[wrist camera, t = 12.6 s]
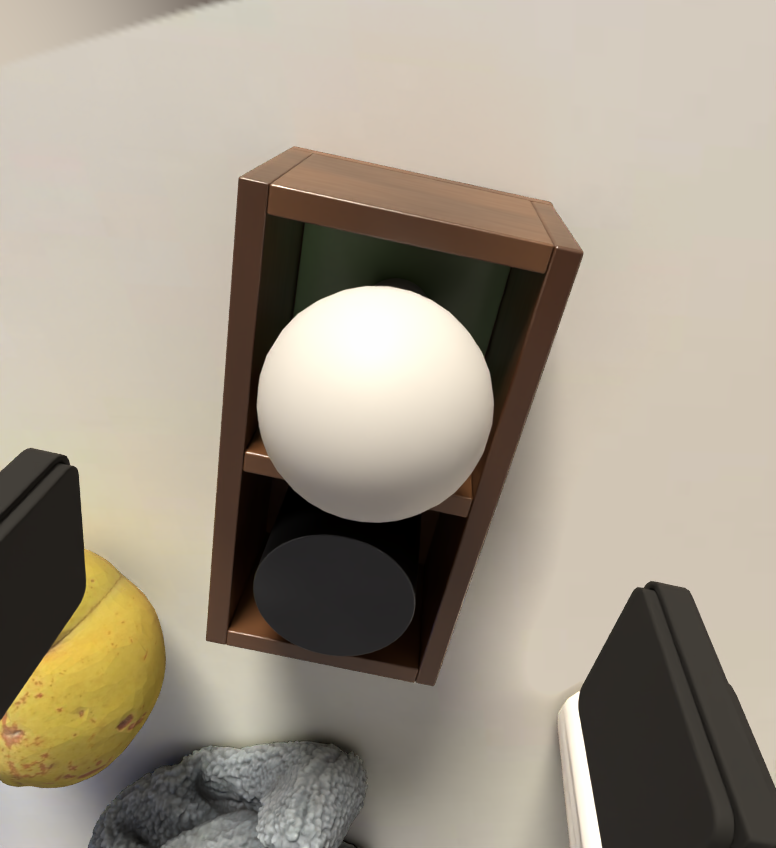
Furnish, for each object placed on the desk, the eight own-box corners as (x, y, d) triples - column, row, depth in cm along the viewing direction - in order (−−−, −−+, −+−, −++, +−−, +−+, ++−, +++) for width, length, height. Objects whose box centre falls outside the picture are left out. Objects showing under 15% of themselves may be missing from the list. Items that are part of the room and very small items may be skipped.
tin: (303, 414, 27) (260, 519, 21) (436, 442, 27) (431, 555, 21) (288, 519, 30) (246, 639, 24) (408, 544, 30) (397, 670, 24)
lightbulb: (458, 197, 22) (462, 305, 12) (498, 358, 25) (526, 549, 15) (291, 248, 23) (179, 380, 14) (347, 395, 26) (285, 592, 16)
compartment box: (251, 532, 31) (205, 641, 25) (293, 145, 22) (238, 176, 17) (437, 571, 31) (434, 687, 25) (551, 202, 22) (585, 251, 17)
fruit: (101, 683, 37) (-4, 872, 29) (-74, 552, 33) (-258, 725, 25) (236, 604, 33) (160, 797, 25) (54, 445, 29) (-112, 607, 21)
